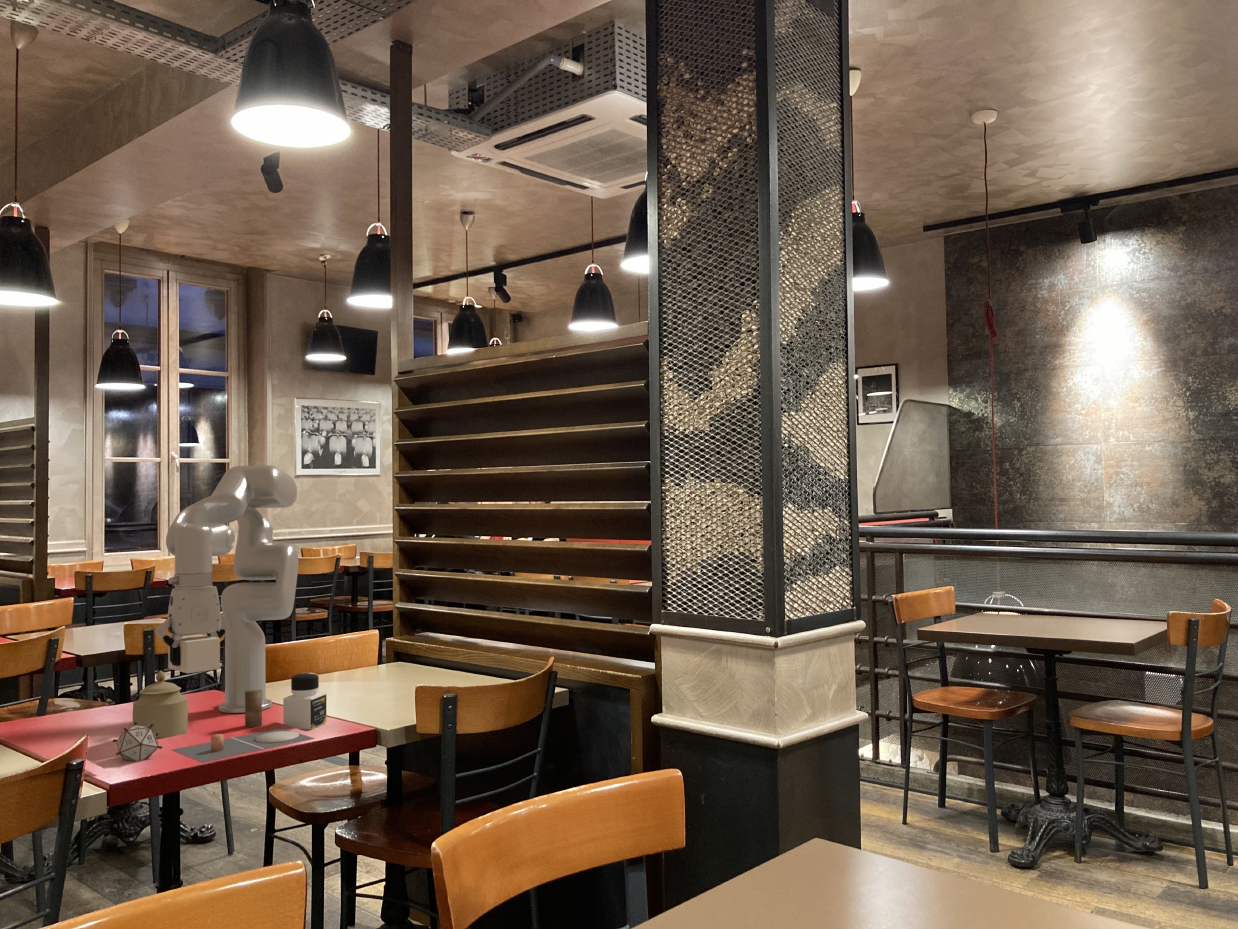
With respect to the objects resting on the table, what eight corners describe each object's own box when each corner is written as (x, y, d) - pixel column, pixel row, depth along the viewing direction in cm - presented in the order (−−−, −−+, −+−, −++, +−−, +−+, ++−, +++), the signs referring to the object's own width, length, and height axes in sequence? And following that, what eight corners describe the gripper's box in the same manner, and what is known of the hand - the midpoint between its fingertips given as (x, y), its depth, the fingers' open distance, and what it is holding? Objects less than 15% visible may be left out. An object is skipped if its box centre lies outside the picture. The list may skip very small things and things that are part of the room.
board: (171, 755, 196) (171, 735, 196) (281, 733, 213) (280, 714, 214) (202, 768, 186) (202, 747, 186) (315, 744, 203) (314, 724, 203)
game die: (131, 781, 191) (127, 735, 196) (172, 764, 192) (167, 719, 197) (105, 770, 183) (102, 723, 189) (148, 753, 184) (143, 706, 190)
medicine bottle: (311, 730, 216) (311, 677, 216) (282, 729, 217) (282, 676, 218) (327, 723, 223) (326, 671, 223) (299, 722, 224) (299, 671, 225)
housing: (187, 673, 202) (187, 642, 202) (168, 668, 209) (168, 638, 209) (219, 668, 207) (219, 638, 207) (200, 663, 214) (200, 634, 214)
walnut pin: (242, 731, 216) (242, 691, 216) (257, 728, 219) (257, 689, 219) (249, 733, 213) (249, 693, 214) (264, 730, 216) (264, 691, 216)
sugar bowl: (111, 739, 211) (111, 671, 211) (157, 728, 220) (157, 663, 221) (152, 747, 203) (152, 676, 204) (198, 735, 213) (198, 668, 213)
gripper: (159, 585, 200) (159, 670, 199) (240, 579, 212) (240, 659, 212) (145, 583, 205) (145, 666, 204) (225, 577, 217) (225, 655, 217)
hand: (194, 662), depth 208 cm, fingers closed on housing, 7 cm apart
